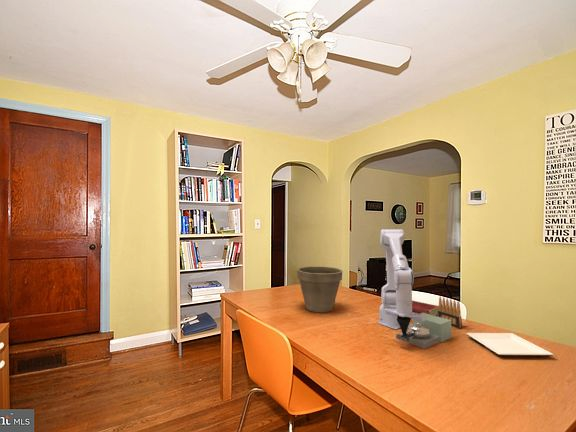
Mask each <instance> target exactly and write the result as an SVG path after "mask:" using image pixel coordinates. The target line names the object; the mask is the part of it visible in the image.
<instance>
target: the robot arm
mask: <svg viewBox="0 0 576 432" xmlns="http://www.w3.org/2000/svg"><path fill="white" fill-rule="evenodd" d="M379 237H380V239H379V240H380V247H381V248H383V249H384V251H385V262H386V265H385V267H386V281H387V282H386V284H385V285H383V286H382V287H381V292H380V293H381V295H380V298H381V299H380V300H381V303H382V304H380V306H379V309H378V311H379V320H378V322H377V323H378V324H379V325H382V326H384V327H387V328H391V329H394V330H399V329H401V333H402V334H403V335H404V334H406V332H407V331H408V325H409V324H411V321H412V320H413V319H416V320H421V321H423V322H424V321H425V315H422V314H418V313H415V312H412V301H413V291H412V290H413V285H414V281H415V280H414V279H415V277H414V276H415V275H414V272H413V269H412V268H411V267H409V263H408V260H407V256H406V255H404V254H403V246H402V245H403V244H404V241H405V232H404V230H403V229H402V228H400V229H385V228H384V229H381V230H380V233H379Z"/></svg>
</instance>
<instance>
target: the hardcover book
mask: <svg viewBox="0 0 576 432" xmlns="http://www.w3.org/2000/svg"><path fill="white" fill-rule="evenodd" d="M438 311H439V307H438V305H435V304H431V303H427V302H426V303H425V302H423V301H422V302H421V301H416V300H412V312H415V313H418V314H421V313H426V314H430V315H434V316H438Z"/></svg>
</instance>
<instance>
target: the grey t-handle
mask: <svg viewBox="0 0 576 432" xmlns="http://www.w3.org/2000/svg"><path fill="white" fill-rule="evenodd" d="M407 331H408V333H406V334H404V335H399V333H397V334H396V335H395V338H396V339H398V340H400V339H401V340H400V341H403V342H405V341H406V342H405V343H408V341H409V338H410V337H415V338H421V339H425V338H429V337H430V328H429V327H428V326H426V325H423V324H421V323H419V322H416V323H413V322H412V323H409V325H408V328H407Z"/></svg>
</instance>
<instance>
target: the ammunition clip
mask: <svg viewBox="0 0 576 432" xmlns="http://www.w3.org/2000/svg"><path fill="white" fill-rule="evenodd" d="M437 306H438V307H439V311H438V314H437V317H441V318H445V319H448V320H451V327H453V328H456V329H458V330H459V329H462V328H463V321H462V313H461V304H460V301H459V300H457V302H456V300H455V299H454V300H453V301H452V298H450V299H449V298H448V297H447V298H446V299H445V297H443V298H442V296H441V295H440V296H439V298H438V305H437Z"/></svg>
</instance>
